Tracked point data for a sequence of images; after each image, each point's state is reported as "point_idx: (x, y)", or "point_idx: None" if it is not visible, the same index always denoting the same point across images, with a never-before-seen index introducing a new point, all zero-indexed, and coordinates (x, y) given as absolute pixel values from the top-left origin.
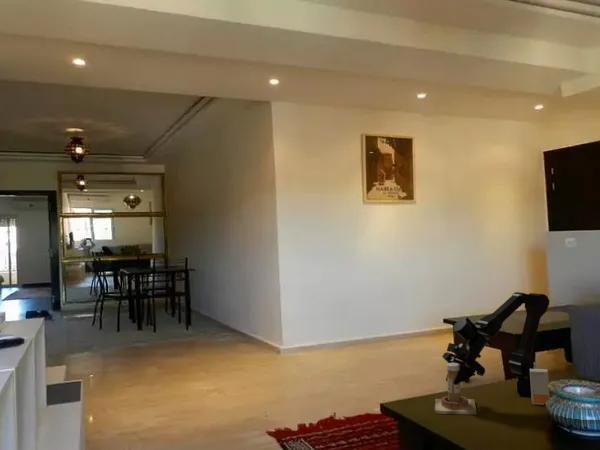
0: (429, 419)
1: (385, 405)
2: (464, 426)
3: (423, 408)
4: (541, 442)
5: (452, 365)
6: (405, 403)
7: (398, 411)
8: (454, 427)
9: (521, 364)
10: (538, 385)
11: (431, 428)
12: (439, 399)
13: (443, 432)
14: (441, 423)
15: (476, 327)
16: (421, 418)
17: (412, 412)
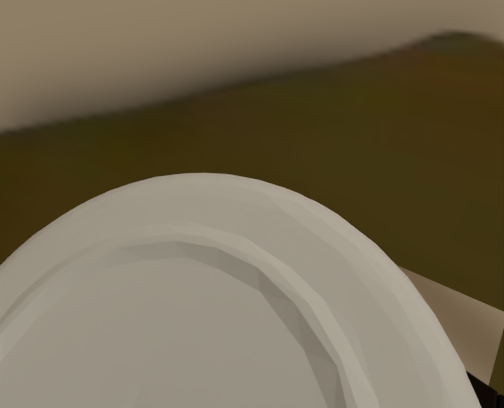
0: (175, 148)
1: (469, 32)
2: (2, 255)
3: (355, 180)
4: None
5: (17, 300)
6: (487, 122)
7: (348, 62)
8: (25, 206)
9: None
10: None
11: (78, 119)
12: (479, 336)
13: (16, 144)
14: (100, 176)
15: None
16: (206, 122)
17: (308, 111)
